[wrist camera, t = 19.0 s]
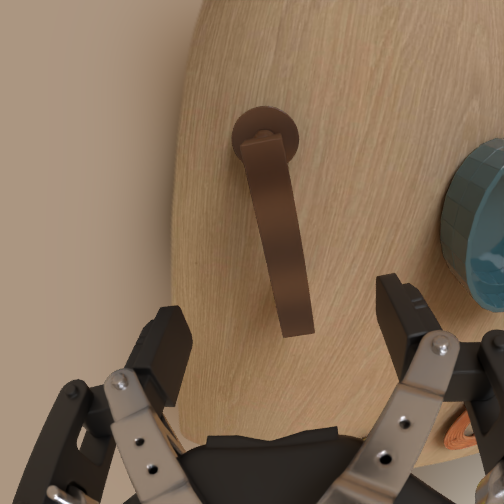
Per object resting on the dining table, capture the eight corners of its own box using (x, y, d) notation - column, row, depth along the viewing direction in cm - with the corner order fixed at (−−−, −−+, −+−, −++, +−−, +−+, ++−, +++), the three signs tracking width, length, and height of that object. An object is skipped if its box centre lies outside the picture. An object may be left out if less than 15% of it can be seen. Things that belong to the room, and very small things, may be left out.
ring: (557, 345, 34) (563, 353, 32) (514, 418, 45) (517, 426, 43) (462, 385, 38) (467, 396, 36) (428, 452, 49) (430, 461, 47)
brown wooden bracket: (230, 113, 24) (208, 117, 16) (289, 101, 23) (297, 98, 15) (268, 278, 31) (265, 340, 23) (318, 270, 30) (332, 330, 22)
